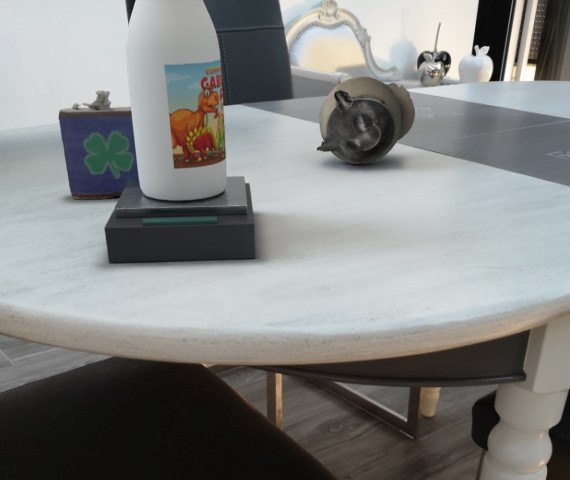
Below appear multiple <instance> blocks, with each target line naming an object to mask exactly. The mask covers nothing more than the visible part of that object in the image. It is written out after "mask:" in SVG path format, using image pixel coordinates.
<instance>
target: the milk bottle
mask: <svg viewBox="0 0 570 480" xmlns="http://www.w3.org/2000/svg"><path fill="white" fill-rule="evenodd" d="M125 46H126V47H125V48H126V49H125V50H126V51H125V54H126V69H127V79H128V91H129V101H130V107H131V111H132V121H133V130H134V139H135V148H136V157H137V166H138V175H139V182H140V188H141V190H142V192H143V193H144V194H145V195H146V196H149V197H152V198H156V199H162V200H194V199H201V198H207V197H211V196H214V195H217V194H219V193H221V192H223V191H224V189H225V187H226V185H227V177H228V175H227V174H228V173H227V172H228V171H227V150H226V149H227V148H226V129H225V127H226V126H225V109H224V92H223V74H222V62H221V51H220V45H219V40H218V35H217V31H216V28H215V26H214V22H213V20H212V18H211V16H210V13H209V11H208V9H207V6H206V4H205V2H204V0H135V2H134V5H133V9H132V11H131V16H130V19H129V21H128V26H127V32H126V43H125Z"/></svg>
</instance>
